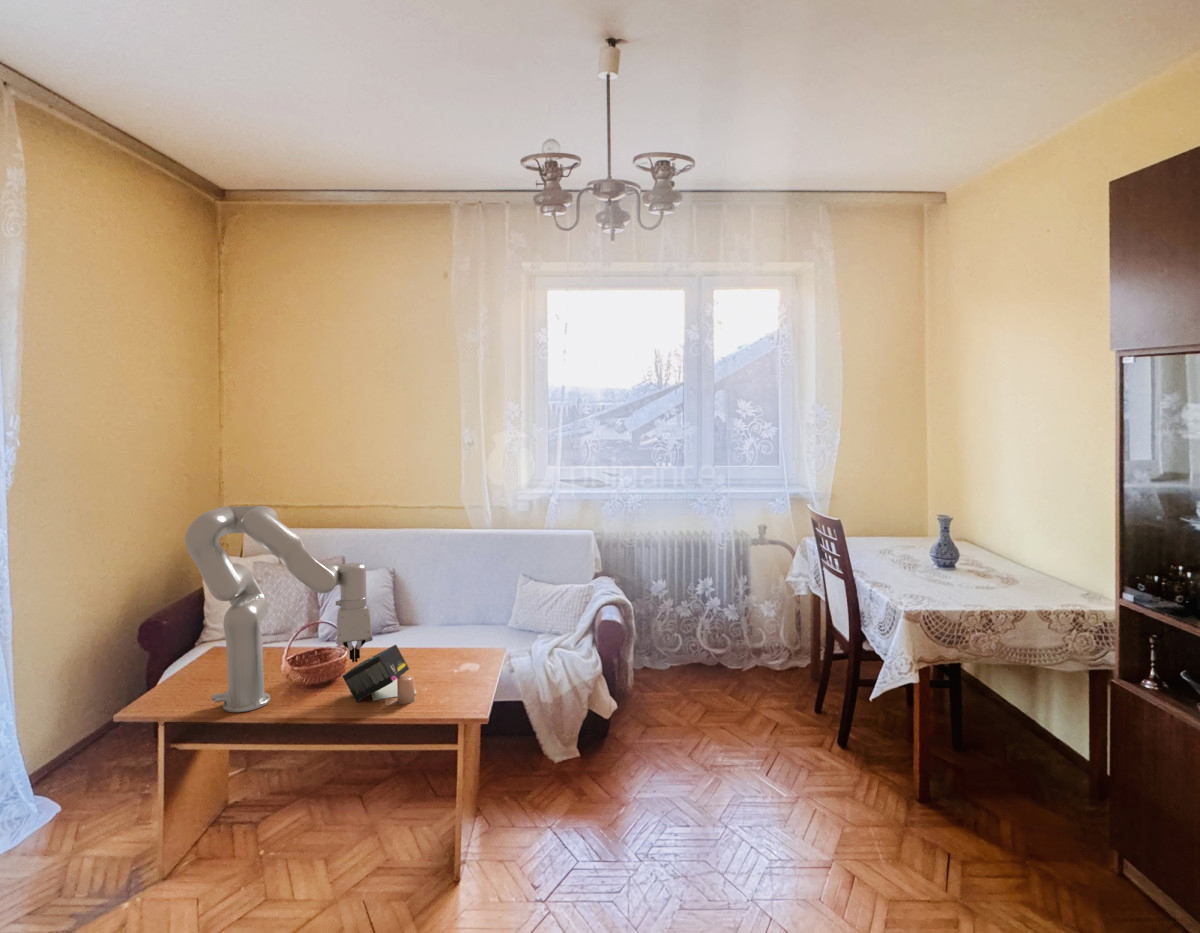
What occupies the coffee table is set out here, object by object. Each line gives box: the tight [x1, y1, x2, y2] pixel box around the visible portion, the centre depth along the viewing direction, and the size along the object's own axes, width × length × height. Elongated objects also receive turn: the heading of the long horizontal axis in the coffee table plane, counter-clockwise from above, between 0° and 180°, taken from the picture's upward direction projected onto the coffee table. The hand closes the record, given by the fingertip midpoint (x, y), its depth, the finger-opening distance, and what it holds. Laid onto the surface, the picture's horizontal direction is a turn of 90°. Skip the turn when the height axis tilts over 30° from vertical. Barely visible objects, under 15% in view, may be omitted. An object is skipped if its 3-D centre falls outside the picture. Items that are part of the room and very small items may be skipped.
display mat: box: [371, 678, 417, 701], centre depth 210 cm, size 13×15×1 cm
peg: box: [397, 674, 416, 705], centre depth 201 cm, size 5×5×7 cm
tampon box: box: [342, 644, 410, 702], centre depth 203 cm, size 11×9×15 cm
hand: (354, 660), depth 206 cm, fingers closed
